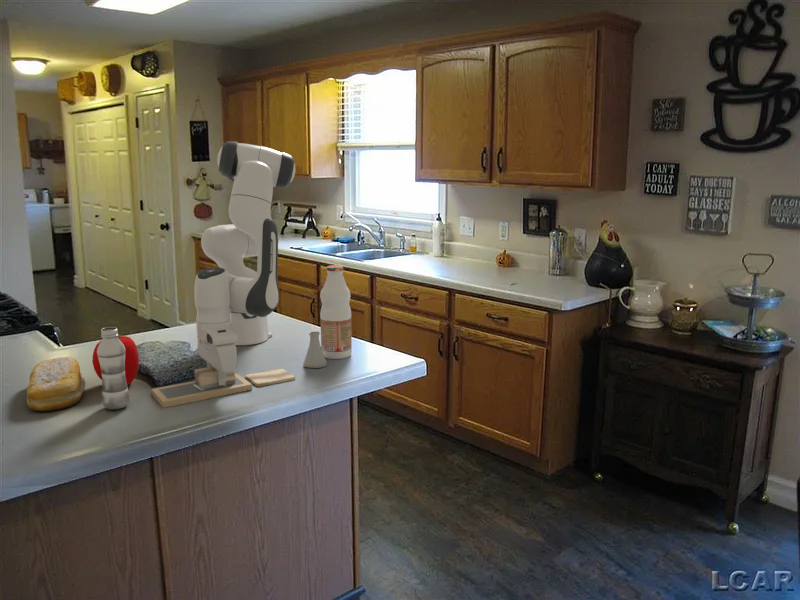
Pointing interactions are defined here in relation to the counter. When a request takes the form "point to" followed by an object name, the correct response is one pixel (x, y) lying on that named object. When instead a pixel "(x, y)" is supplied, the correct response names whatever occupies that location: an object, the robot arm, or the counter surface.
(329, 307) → the fruit juice
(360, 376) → the counter surface
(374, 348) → the counter surface
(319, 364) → the flask
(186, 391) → the chalkboard
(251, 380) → the pad
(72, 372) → the bread
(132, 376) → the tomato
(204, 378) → the block
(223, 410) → the counter surface
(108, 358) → the plastic bottle
